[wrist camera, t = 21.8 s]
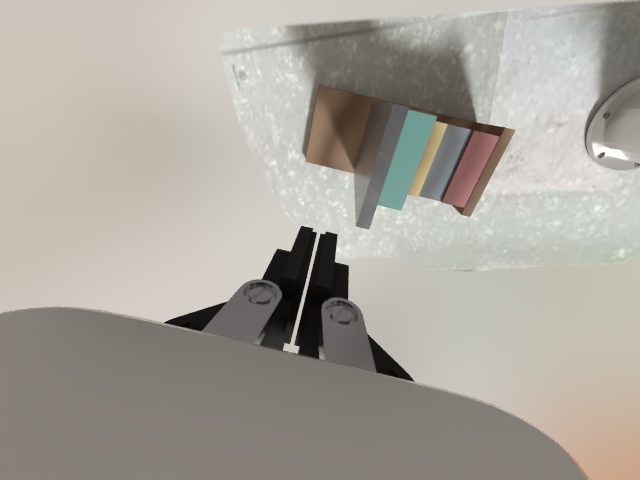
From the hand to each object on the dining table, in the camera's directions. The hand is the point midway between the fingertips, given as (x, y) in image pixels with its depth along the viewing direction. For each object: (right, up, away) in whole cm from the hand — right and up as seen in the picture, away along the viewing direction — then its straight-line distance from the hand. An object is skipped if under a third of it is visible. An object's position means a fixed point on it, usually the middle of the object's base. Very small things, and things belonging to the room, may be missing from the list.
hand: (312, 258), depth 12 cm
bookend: (+7, +16, +28) cm, 34 cm away
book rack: (+11, +16, +30) cm, 36 cm away
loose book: (+10, +16, +29) cm, 34 cm away
